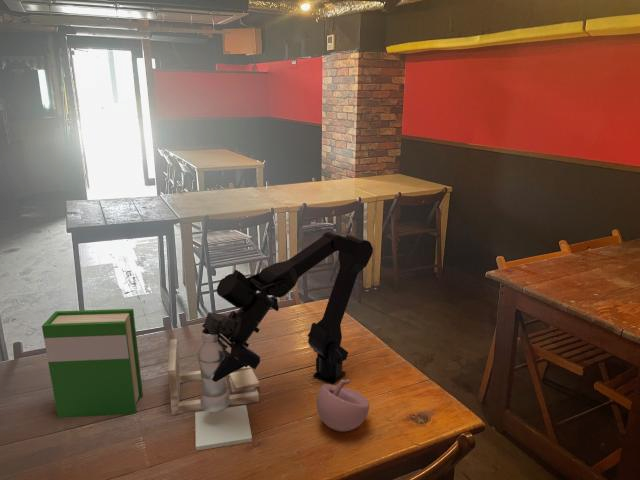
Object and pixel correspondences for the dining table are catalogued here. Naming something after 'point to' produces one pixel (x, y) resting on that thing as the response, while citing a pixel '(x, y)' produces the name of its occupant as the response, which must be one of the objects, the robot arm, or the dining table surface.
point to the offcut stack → (243, 382)
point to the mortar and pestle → (341, 406)
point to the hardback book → (93, 362)
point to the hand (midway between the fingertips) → (207, 374)
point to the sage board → (222, 428)
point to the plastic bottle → (212, 373)
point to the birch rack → (178, 378)
